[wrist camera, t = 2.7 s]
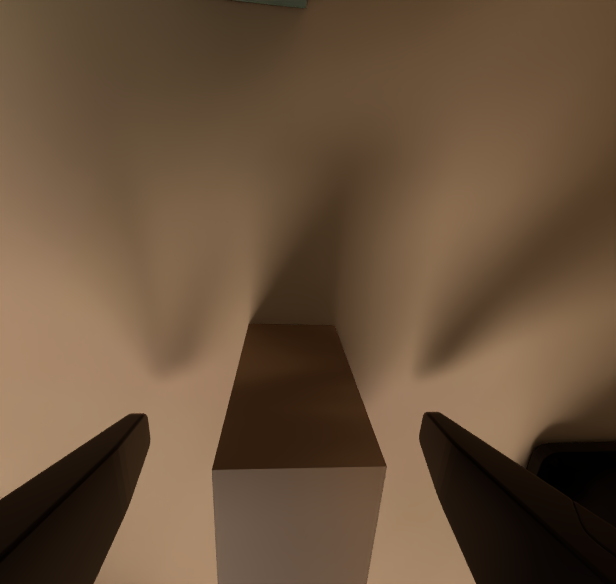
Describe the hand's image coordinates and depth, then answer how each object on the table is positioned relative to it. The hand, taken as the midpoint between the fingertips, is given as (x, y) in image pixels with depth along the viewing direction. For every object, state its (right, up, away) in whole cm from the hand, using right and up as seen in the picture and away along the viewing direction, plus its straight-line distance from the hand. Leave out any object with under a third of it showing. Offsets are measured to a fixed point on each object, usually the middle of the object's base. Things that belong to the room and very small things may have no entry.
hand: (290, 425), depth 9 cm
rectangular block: (0, 0, +1) cm, 1 cm away
